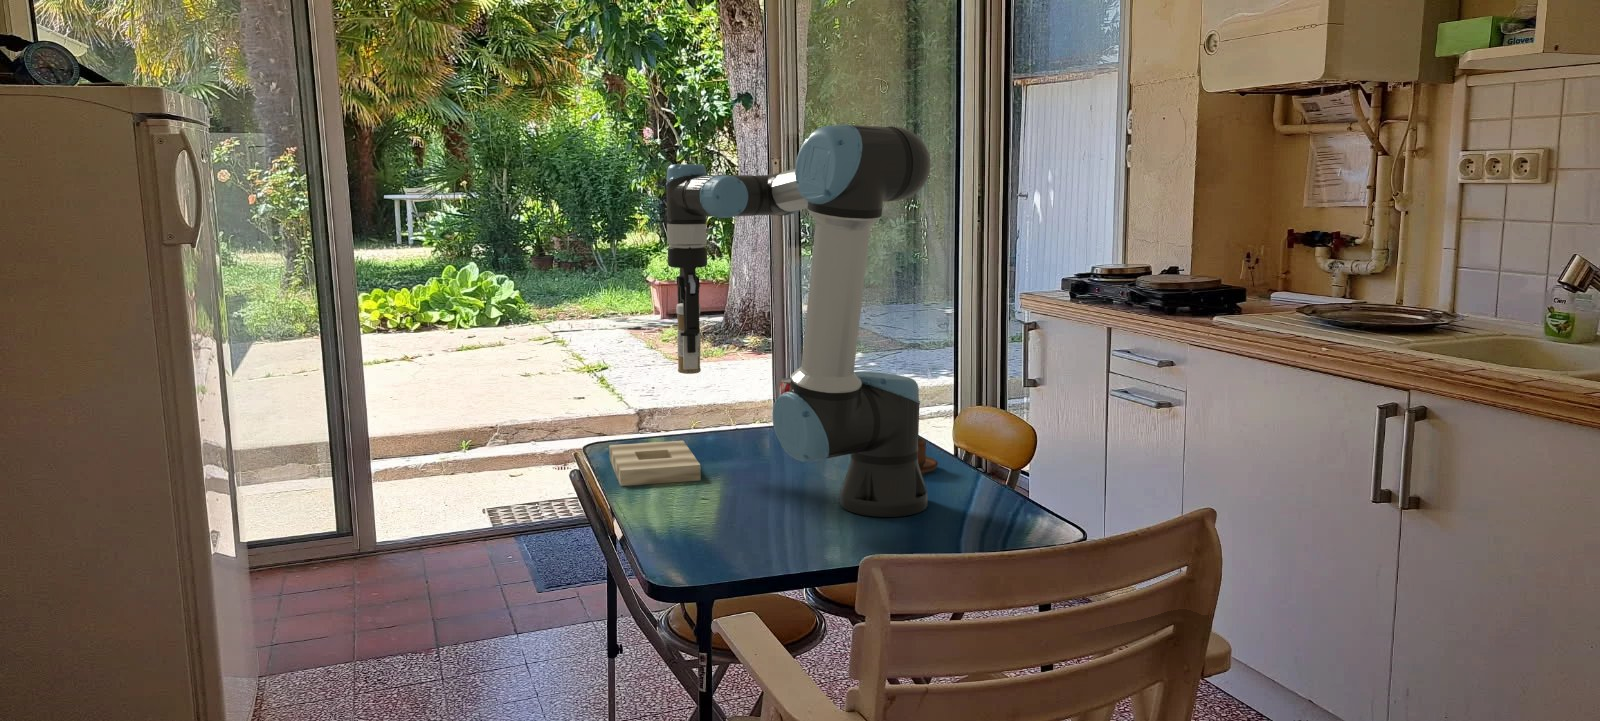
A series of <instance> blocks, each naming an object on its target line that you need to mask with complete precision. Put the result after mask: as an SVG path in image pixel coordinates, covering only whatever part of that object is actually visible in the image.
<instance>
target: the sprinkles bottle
mask: <svg viewBox="0 0 1600 721" xmlns="http://www.w3.org/2000/svg"><path fill="white" fill-rule="evenodd" d="M675 308H676V311H675V312H676V316H677V340H676V341H677V360H678V361H677V367H678V368H677V372H678V373H680V374H685V375H691V374H692V375H693V374H698V373H701V371H702V370H701V331H700V332H699V334H698V369H685V370H684V367H683V336H681V334H680V333H684V313H683V303H680V304H678V303H677V304H676V307H675ZM700 316H701V305H700V303H699V317H700ZM700 320H701V319H700V318H699V329H700V328H701V326H700V324H701V322H700ZM700 330H701V329H700Z"/></svg>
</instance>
